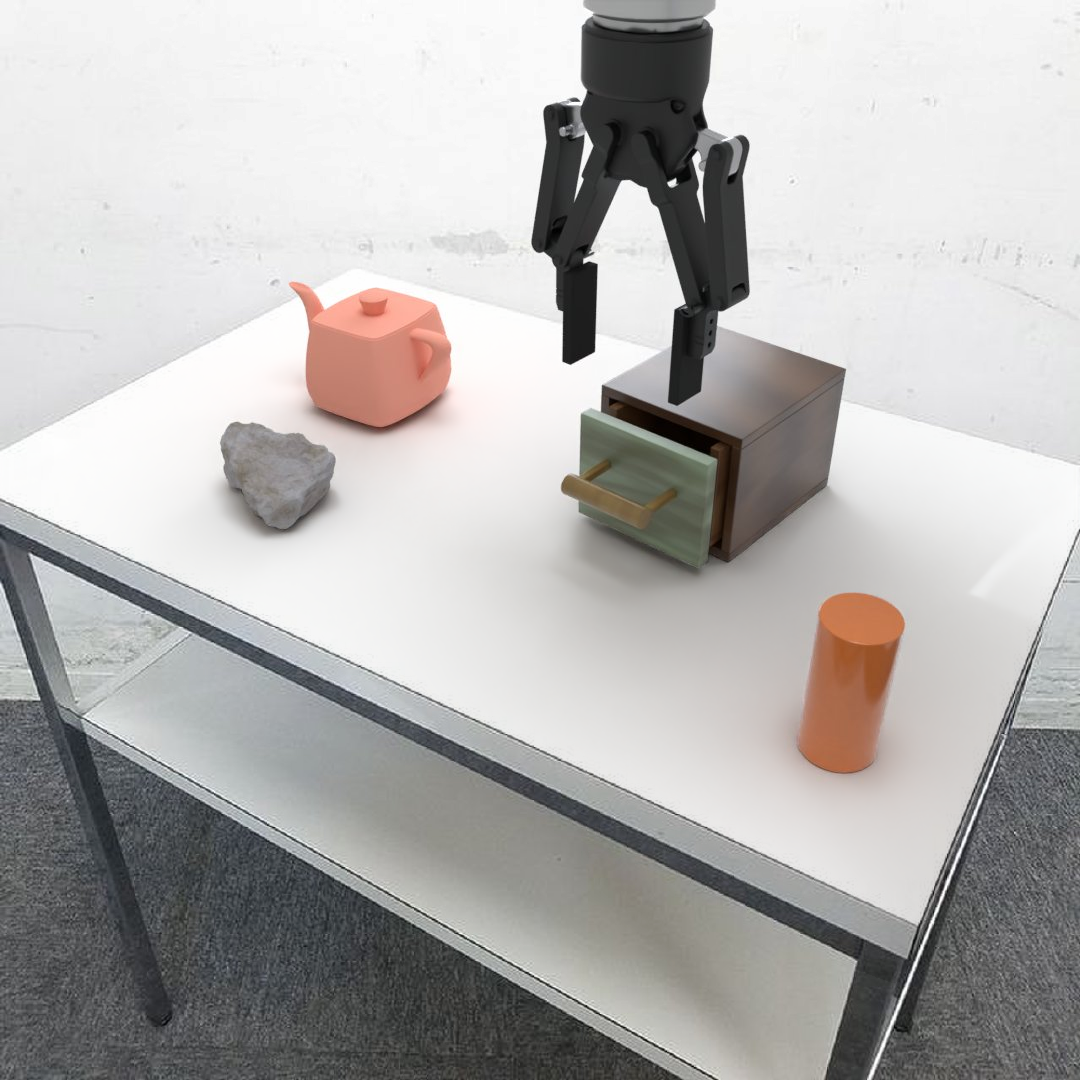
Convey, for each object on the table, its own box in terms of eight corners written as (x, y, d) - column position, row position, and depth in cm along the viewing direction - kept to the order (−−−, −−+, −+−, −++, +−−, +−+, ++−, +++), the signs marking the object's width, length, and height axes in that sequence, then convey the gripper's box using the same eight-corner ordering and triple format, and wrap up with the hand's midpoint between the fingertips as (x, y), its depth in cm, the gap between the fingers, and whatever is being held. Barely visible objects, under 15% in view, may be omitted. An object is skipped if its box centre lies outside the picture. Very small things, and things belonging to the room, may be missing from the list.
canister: (890, 742, 73) (920, 615, 68) (852, 785, 70) (879, 656, 65) (821, 707, 76) (845, 581, 70) (782, 747, 73) (802, 620, 67)
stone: (192, 506, 95) (180, 442, 92) (263, 462, 101) (254, 401, 97) (283, 544, 91) (273, 479, 87) (352, 497, 96) (346, 434, 93)
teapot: (414, 451, 102) (406, 340, 96) (260, 397, 110) (244, 292, 104) (490, 398, 110) (487, 293, 104) (341, 352, 118) (331, 252, 112)
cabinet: (728, 562, 89) (742, 439, 83) (597, 502, 96) (601, 384, 90) (827, 484, 98) (846, 368, 92) (701, 434, 105) (711, 323, 99)
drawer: (659, 599, 84) (667, 493, 79) (537, 538, 90) (537, 437, 85) (795, 494, 95) (809, 396, 90) (679, 446, 101) (686, 352, 96)
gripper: (467, 2, 71) (478, 349, 84) (771, 57, 59) (730, 449, 72) (549, -15, 76) (548, 316, 88) (846, 33, 64) (794, 405, 77)
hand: (630, 376), depth 80 cm, fingers open, 8 cm apart
